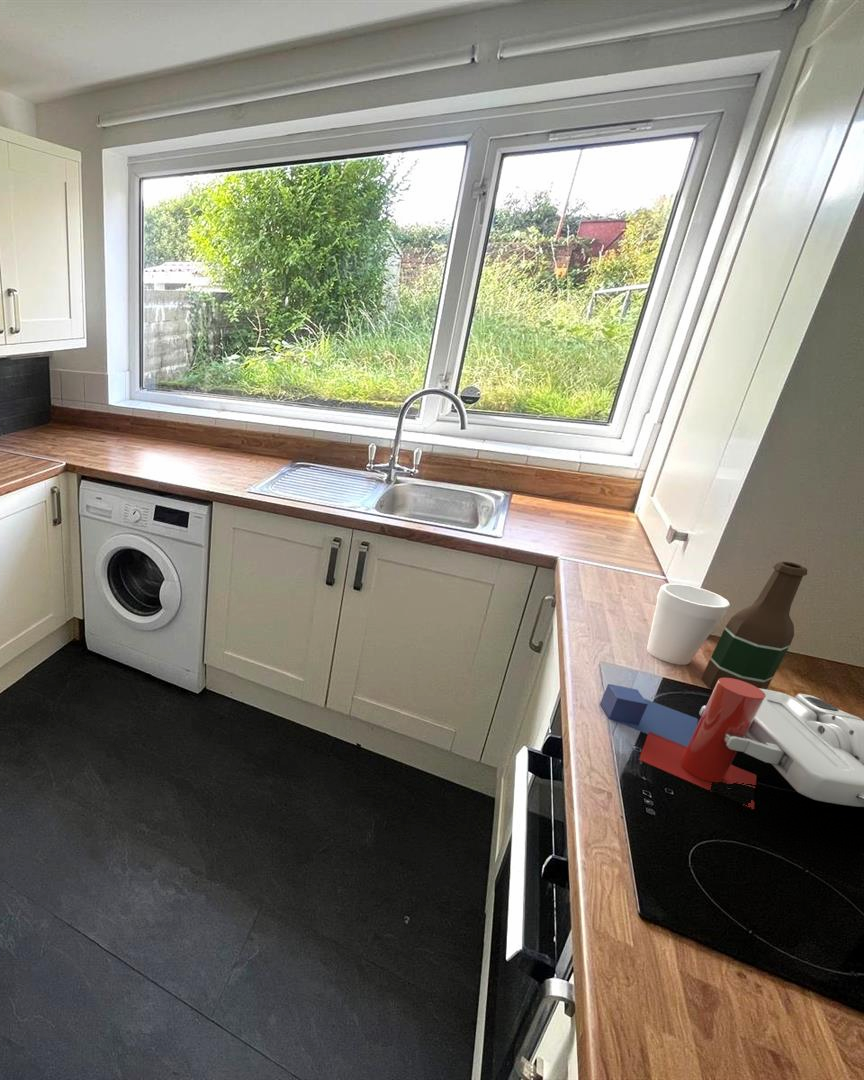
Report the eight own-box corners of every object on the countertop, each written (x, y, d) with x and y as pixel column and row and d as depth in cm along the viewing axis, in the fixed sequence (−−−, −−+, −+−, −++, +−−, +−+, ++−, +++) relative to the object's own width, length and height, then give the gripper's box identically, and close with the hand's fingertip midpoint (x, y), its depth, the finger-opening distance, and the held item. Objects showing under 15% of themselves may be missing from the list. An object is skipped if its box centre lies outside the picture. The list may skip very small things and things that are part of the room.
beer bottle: (729, 676, 104) (789, 555, 95) (774, 704, 97) (844, 576, 88) (688, 676, 104) (744, 554, 95) (729, 704, 97) (795, 575, 88)
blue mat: (697, 720, 93) (698, 718, 93) (689, 753, 86) (690, 751, 85) (620, 691, 99) (621, 689, 99) (607, 719, 92) (608, 717, 92)
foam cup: (624, 645, 113) (649, 586, 108) (657, 639, 116) (682, 580, 111) (678, 673, 105) (707, 610, 100) (712, 665, 108) (742, 604, 103)
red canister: (724, 771, 82) (766, 688, 77) (722, 788, 79) (765, 702, 74) (681, 754, 85) (719, 673, 80) (678, 769, 82) (716, 686, 77)
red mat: (755, 777, 82) (756, 775, 81) (752, 812, 76) (754, 809, 76) (647, 733, 90) (648, 731, 89) (638, 761, 84) (638, 759, 84)
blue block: (628, 709, 94) (637, 689, 93) (638, 725, 91) (648, 704, 89) (599, 703, 95) (608, 683, 94) (608, 718, 92) (617, 698, 90)
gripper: (898, 832, 67) (749, 798, 71) (784, 724, 85) (671, 702, 89) (927, 790, 65) (771, 757, 69) (804, 688, 83) (686, 667, 87)
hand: (714, 725), depth 79 cm, fingers closed on red canister, 4 cm apart
